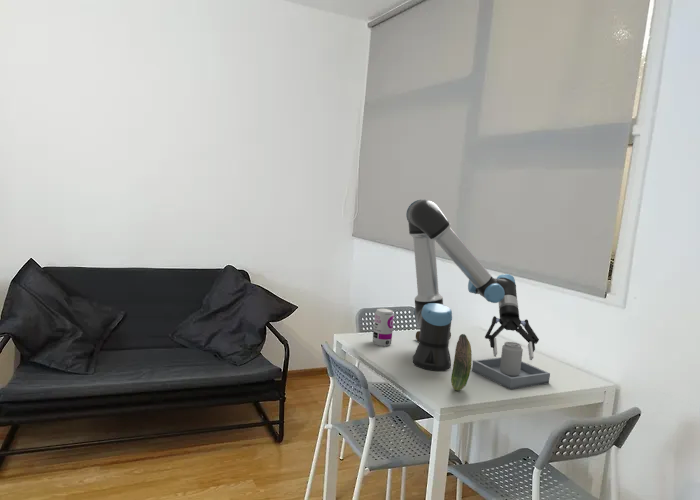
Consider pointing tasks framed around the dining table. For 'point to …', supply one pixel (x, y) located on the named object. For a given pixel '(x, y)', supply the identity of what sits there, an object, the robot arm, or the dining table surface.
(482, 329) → the dining table surface
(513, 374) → the can
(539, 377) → the box
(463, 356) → the vegetable
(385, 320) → the supplement can
